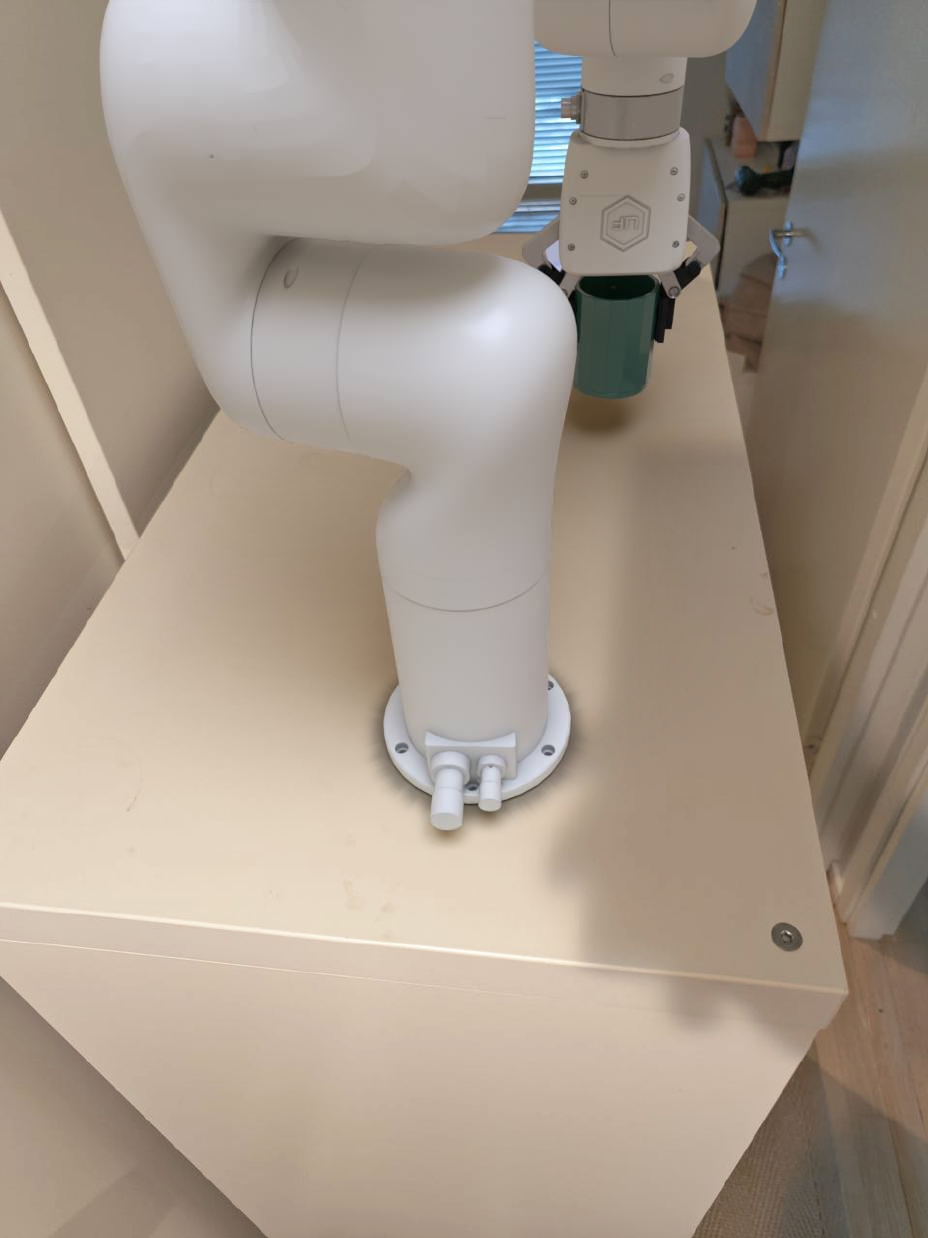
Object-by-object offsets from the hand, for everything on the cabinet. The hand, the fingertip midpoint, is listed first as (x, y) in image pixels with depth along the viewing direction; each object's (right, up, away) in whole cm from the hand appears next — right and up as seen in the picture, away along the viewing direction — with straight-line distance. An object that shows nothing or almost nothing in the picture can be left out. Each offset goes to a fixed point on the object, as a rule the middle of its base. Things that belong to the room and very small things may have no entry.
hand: (613, 335), depth 76 cm
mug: (0, -2, +4) cm, 5 cm away
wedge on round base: (+2, +16, +31) cm, 35 cm away
